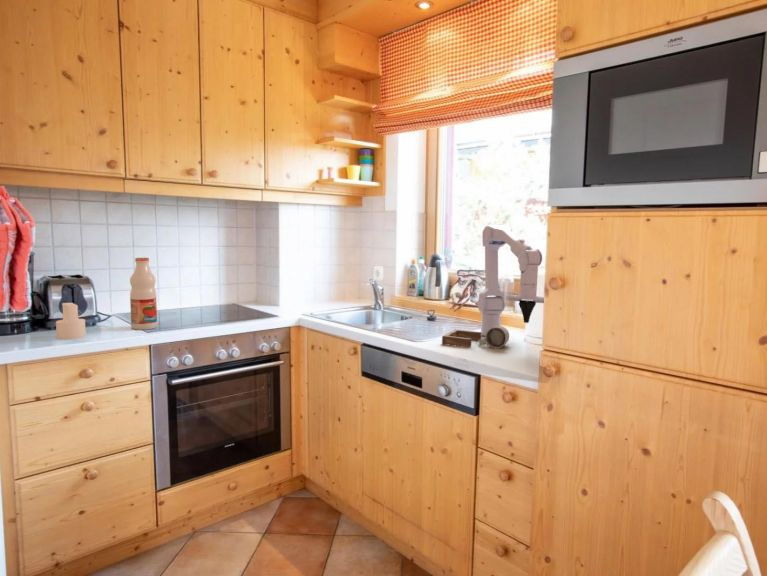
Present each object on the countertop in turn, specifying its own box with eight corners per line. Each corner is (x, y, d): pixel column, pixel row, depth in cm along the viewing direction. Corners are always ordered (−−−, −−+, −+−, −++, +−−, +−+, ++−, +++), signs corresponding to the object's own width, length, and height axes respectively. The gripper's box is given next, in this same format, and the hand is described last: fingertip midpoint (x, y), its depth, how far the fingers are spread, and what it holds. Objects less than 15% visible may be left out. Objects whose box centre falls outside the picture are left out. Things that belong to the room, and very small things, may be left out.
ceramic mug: (509, 345, 187) (510, 324, 186) (505, 349, 179) (506, 328, 178) (481, 342, 191) (481, 322, 190) (476, 346, 183) (476, 326, 183)
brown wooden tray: (454, 336, 199) (455, 329, 199) (480, 339, 194) (481, 332, 194) (442, 344, 186) (442, 336, 185) (469, 347, 181) (470, 339, 181)
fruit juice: (139, 325, 207) (137, 257, 204) (161, 326, 207) (159, 257, 204) (126, 329, 198) (123, 258, 195) (149, 330, 197) (147, 259, 194)
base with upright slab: (88, 337, 183) (87, 304, 182) (59, 340, 177) (58, 307, 175) (82, 333, 189) (80, 301, 188) (54, 336, 183) (52, 303, 182)
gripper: (505, 283, 177) (503, 321, 178) (548, 286, 170) (545, 326, 172) (509, 282, 183) (507, 318, 185) (551, 284, 177) (548, 322, 178)
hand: (526, 322), depth 179 cm, fingers closed
